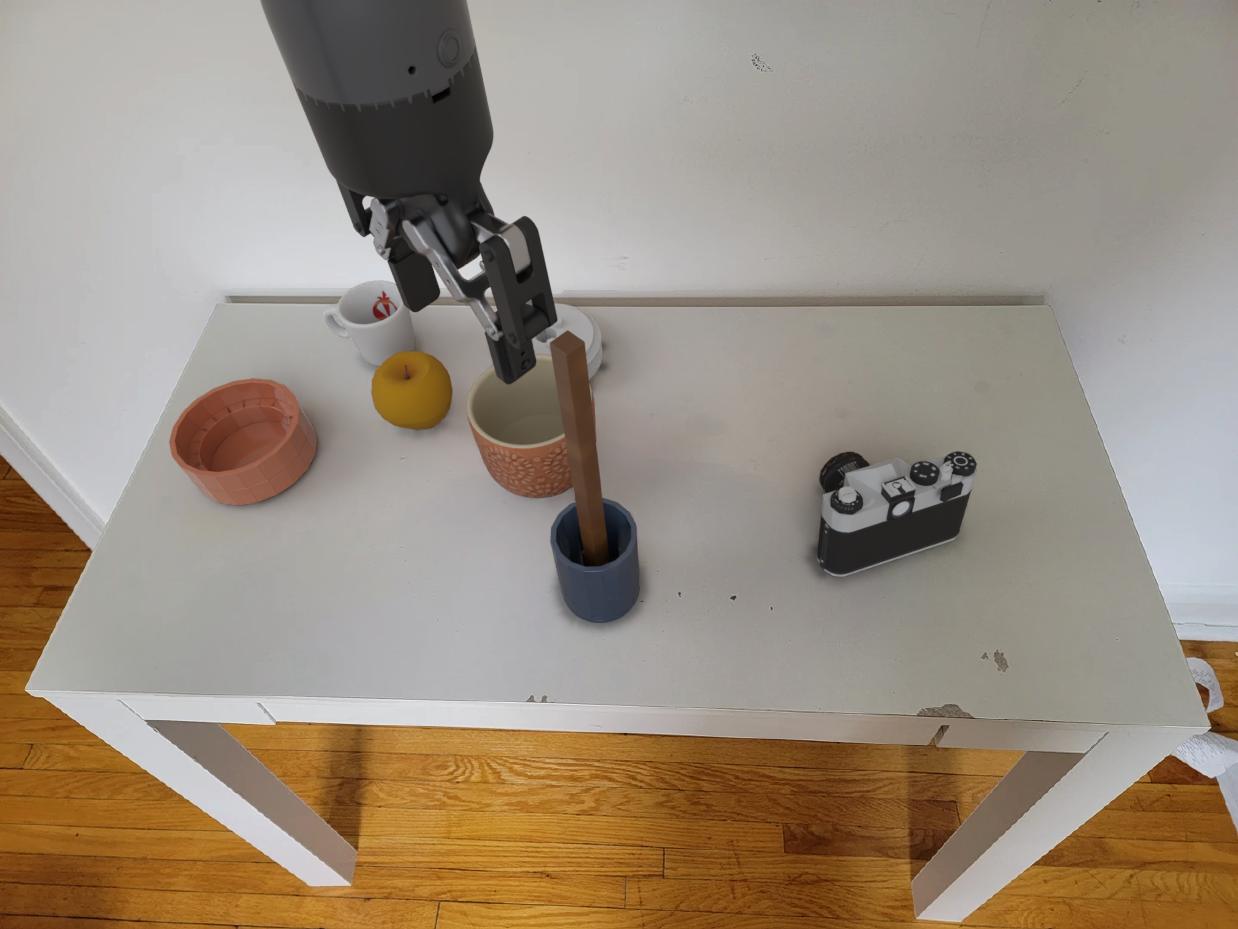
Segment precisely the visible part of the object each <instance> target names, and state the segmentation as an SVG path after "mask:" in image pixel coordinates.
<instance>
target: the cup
mask: <svg viewBox="0 0 1238 929" xmlns="http://www.w3.org/2000/svg"><path fill="white" fill-rule="evenodd" d="M334 316H336V317H338V319H339V321H340V323H341V324H342V325H340V323H338V322H337V321H336V320H335V318H334ZM322 318H323V322H324V324H325V325H326V327H327V328H328V330H330V332H331V333H333V334H334V335H335V336H338V337H339V338H343V339H344V338H345V339H351V341H352V342H353V344H354V345H355V347H356V349H357V350H358V352H359V354H360V355H361V356H362V358H363V359H364V360H365V361H366V362H367V363H369V364H370V365H371V366H375V367H379V366H380V365H381V364H382V363H383V362H384V361H385V360H386V359H388V358H389V357H391V356H392V355H394V354H395V353H399V352H403V351H415V349H416V348H415V347H416V335H415V330H414V324H413V320H412V315H411V310H410V309H408V308H407V307H406V306H404V304H403V301H402V299H401V296H400V293H399V291H398V288H397V286H396V283H395V282H392V281H389V280H382V279H381V280H371V281H369V280H368V281H366V282H362V283H360V284H357V285H355V286H353V287H351V288H350V289H349V290H347V291H346V292H345V293H344V294H342V296H341V297H340V299H339V301H338V303H331V304H329V305H327V306H326V307H325V309H324V310H323V313H322Z"/></svg>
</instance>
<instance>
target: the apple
mask: <svg viewBox="0 0 1238 929" xmlns="http://www.w3.org/2000/svg"><path fill="white" fill-rule="evenodd" d="M377 367H378V366H377ZM372 376H373V377H372V379H371V388H370V390H371V391H370V392H371V398H372V402H373V406H374V409H375V410H376V411H377V413H378V414H379V416H380V417H381V418H382V419H383V420H384V421H386V422H387V423H389V424H391V425H392V426H394V427H397V428H401V429H407V430H414V431H420V430H421V431H422V430H428V429H432V428H434V427H436V426H438V425H439V424H440V423H441V422H442V421H443V420H445V418H446V416H447V415H448V413H449V410H450V409H451V405H452V402H453V393H454V392H453V389H454V388H453V385H452V380H451V376H450V374H449V371H448V369H447V368H446V366H445V365H444V364H443V362H441V361H440V360H439V359H438V358H437V357H435V355H434V354H430V353H427V352H425V351H421V350H414V351H403V352H399V353H395V354H394V355H392V356H391V357H389V358H388V359H386V360H385V361H384V362H383V363H382V364H381V365H380V366H379V367H378V368H376V369H375V371H374V374H373V375H372Z"/></svg>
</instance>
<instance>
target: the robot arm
mask: <svg viewBox="0 0 1238 929" xmlns="http://www.w3.org/2000/svg"><path fill="white" fill-rule="evenodd" d="M259 1H260V5H261V8H262V11H263V13H264V16H265V19H266V21H267V25H268V27H269V29H270V32H271V34H272V37H273V38H274V41H275V44H276V46H277V49H278V51H279V53H280V56H281V58H282V61H283V63H284V65H285V68H286V70H287V74H288V76H289V77H290V81H291V82H292V85H293V87H294V91H295V92H296V94H297V97H298V100H299V102H300V104H301V108H302V110H303V112H304V114H305V117H306V120H307V122H308V124H309V126H310V129H311V131H312V134H313V136H314V139H315V142H316V144H317V146H318V148H319V151H320V154H321V157H322V159H323V160H324V163H325V165H326V168H327V170H328V171H329V174H331V176H332V177H333V178H334V179H335V182H336V184H337V186H338V189H339V192H340V195H341V197H342V200H343V203H344V205H345V209H346V211H347V213H348V215H349V218H350V221H351V223H352V227H353V229H354V230H355V232H356V233H358V234H359V235H360V236H361V237H362V238H366V237H367V236H369V235H371V236H372V237H373V247H374V249H375V251H376V253H377V255H378V256H380V257H381V258H382V259H383V260H384V261H386V262H387V264H388V267H389V270H390V273H391V275H392V278H393V280H394V283H395V284H396V286H397V288H398V291H399V293H400V296H401V299H402V301H403V304H404V306H406V307H407V308H408V309H409V311H410V312H412V313H418V312H420V311H422V310H423V309H425V308H427V307H428V306H430V305H431V304H433V303H434V302H436V301H437V300H438V299H439V297H440V295H441V288H440V285H439V283H438V279H437V276H436V274H437V275H438V277H439V278H440V279H441V281H442V283H443V284H444V286H445V287H446V289H447V291H448V293H449V294H450V296H452V299H454V301H456V302H457V303H462V304H463V303H464V304H465V303H466V304H467V305H468V306H469V307H470V309H471V310H472V312H473V314H474V315H475V317H476V319H477V320H478V322H479V323H480V325H481V326H482V328H483V329H484V331H485V332H484V336H485V340H486V343H487V346H488V349H489V353H490V358H491V362H492V364H493V365H494V368H495V372H496V375H497V377H498V378H499V379H500V380H502V381H503V382H504V383H506V384H507V385H510V384H512V383H514V382H515V381H517V380H518V379H519V378H521V377H522V376H523V375H525V374H526V373H527V372H529V371H530V370H531V369H533V368H534V367H535V366H536V362H537V361H536V357H535V352H534V349H533V348H534V347H533V343H532V339H533V338H534V337H536V336H537V335H538V334H540V333H541V332H543V331H544V330H545V329H547V328H549V327H551V326H552V325H553V324H555V323H556V322H557V320H558V319H557V314H556V309H555V304H554V303H555V301H554V295H553V291H552V286H551V282H550V277H549V272H548V268H547V263H546V258H545V254H544V249H543V246H542V240H541V235H540V231H539V228H538V227H537V225H536V223H535V222H534V221H533V219H531V218H530V217H528V216H526V215H522V216H520V217H519V218H518V219H516V220H514V221H512V222H511V223H508V222H506V221H504V220H502V219H500V218H499V217H497V216H496V215H495V212H494V208H493V206H492V204H491V201H490V200H489V198H488V196H487V194H486V192H485V189H484V187H483V184H482V182H481V176H482V172H483V168H484V166H485V164H486V161H487V158H488V157H489V154H490V152H491V149H492V146H493V145H494V144H493V143H494V137H495V136H494V124H493V120H492V115H491V112H490V105H489V101H488V96H487V91H486V87H485V82H484V77H483V72H482V67H481V63H480V57H479V53H478V48H477V44H476V38H475V34H474V30H473V24H472V20H471V14H470V9H469V5H468V0H259ZM366 197H370V198H372V199H371V200H370V205H369V206H368V207H366V208H365V207H364V203H363V202H364V201H363V200H364V199H365V198H366ZM479 256H480V257H481V260H480V261H479V263H478V265H479V268H480V270H482V271H480V272H479V273H476V274H475V275H474V276H472V277H471V278H469V279H466V278H464V277H463V276H462V274H461V273H460V271H459V270H461V269H462V268H464V267H465V266H467V265H469V264H470V263H472V262H473V261H474V260H476V259H477V258H478V257H479ZM435 272H436V273H435ZM488 289H490V290H491V294H492V298H493V301H494V304H495V308H496V311H495V310H494V309H493V308H492V306H491V303H489V301H488V299H487V298H486V292H487V290H488ZM493 365H492V366H493Z"/></svg>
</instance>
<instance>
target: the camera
mask: <svg viewBox="0 0 1238 929" xmlns="http://www.w3.org/2000/svg"><path fill="white" fill-rule="evenodd" d="M977 465H978V463H977V461H976V459H975V457H974V456H973V455H971V454H970V453H968V452H965V451H960V450H957V451H956V450H955V451H952V452H950V453H948V454H946V455H944V456H941V457H938V458H935V459H931V460H929V461H926V460H920V461H916V462H914V463H913V464H912V465H910V464H909V463H907V461H904V460H903V459H901V458H899V457H897V456H896V457H894V458H890V459H887V460H883V461H881V462H877V463H874V464H870V462H869V461H867V459H865V458H864V456H863V455H861V453H858V452H855V451H844V452H840V453H838V454H836V455H834V456H832V457H830V459H828V461H827V462H825V464H823V466H822V468H821V469H820V472H819V478H818V480H819V484H820V487H821V488H822V489H823V491H824V493H823V494H822V500H821V508H820V509H821V510H820V522H819V531H818V540H817V549H816V560H817V562H818V563H819V567H821V568H822V570H823V571H824V572H826V573H827V574H829V575H831V576H832V577H841V578H843V577H848V576H849V575H854V574H855V573H859V572H862V571H865V570H867V569H870V568H874V567H877V566H880V565H883V564H886V563H889V562H892V561H895V560H898V559H901V558H904V557H907V556H910V555H913V554H916V553H919V552H923V551H925V550H929V549H931V548H934V547H937V546H940V545H944V544H946V543H949V542H952V541H955V539H956V538H957V537H958V536H959V535H960V531H961V527H962V523H963V521H964V517H965V513H966V510H967V506H968V503H969V500H970V496H971V493H972V491H973V487H974V483H975V480H976V477H977V474H978V469H977Z"/></svg>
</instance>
